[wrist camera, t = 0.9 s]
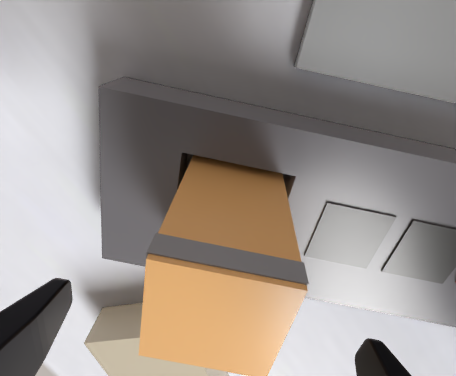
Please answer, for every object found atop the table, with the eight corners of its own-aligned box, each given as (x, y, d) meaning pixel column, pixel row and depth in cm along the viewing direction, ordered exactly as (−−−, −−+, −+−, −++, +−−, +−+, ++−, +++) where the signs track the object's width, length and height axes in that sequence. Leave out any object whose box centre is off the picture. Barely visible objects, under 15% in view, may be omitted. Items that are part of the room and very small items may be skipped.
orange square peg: (281, 163, 14) (309, 289, 7) (260, 231, 17) (267, 380, 10) (196, 145, 14) (144, 257, 7) (185, 215, 16) (136, 356, 9)
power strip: (608, 182, 14) (692, 218, 12) (492, 304, 19) (533, 351, 16) (123, 76, 14) (91, 89, 11) (120, 229, 18) (96, 266, 15)
